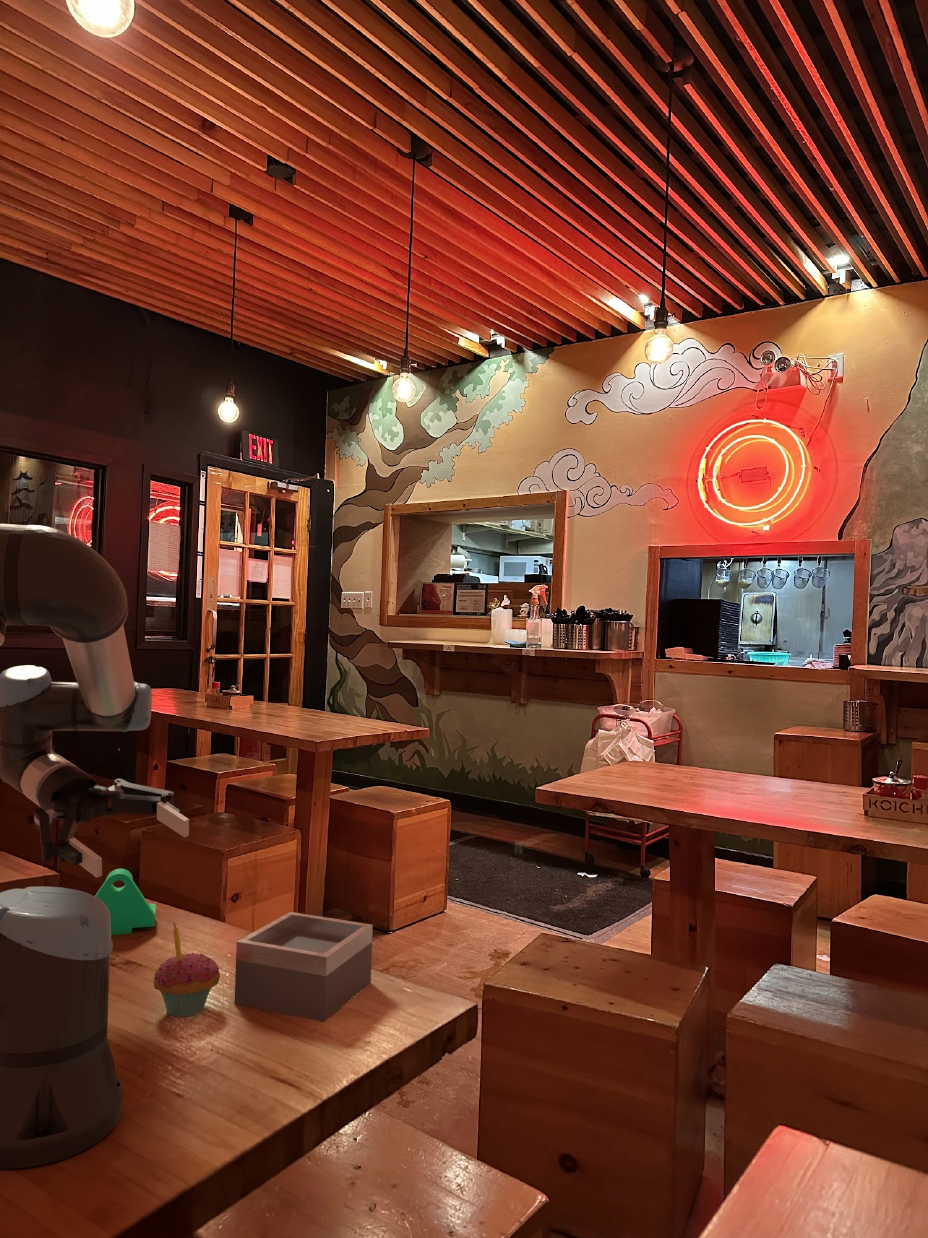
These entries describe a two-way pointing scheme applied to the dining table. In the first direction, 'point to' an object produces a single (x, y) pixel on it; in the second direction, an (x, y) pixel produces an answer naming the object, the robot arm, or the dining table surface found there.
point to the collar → (264, 953)
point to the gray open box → (302, 981)
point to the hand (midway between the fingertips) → (145, 847)
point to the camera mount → (125, 903)
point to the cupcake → (186, 981)
